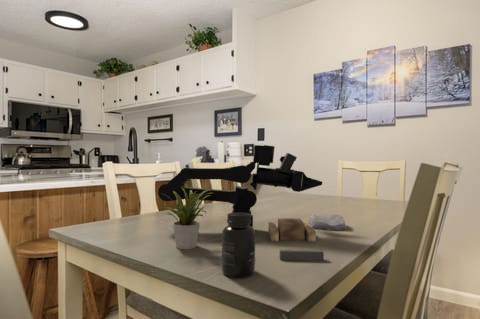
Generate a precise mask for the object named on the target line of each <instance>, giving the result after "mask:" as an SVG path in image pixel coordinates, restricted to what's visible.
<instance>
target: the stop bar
mask: <svg viewBox="0 0 480 319" xmlns="http://www.w3.org/2000/svg"><path fill="white" fill-rule="evenodd" d="M324 253H325V252H324V250H323V249H297V248H296V249H295V248H293V249H290V248H289V249H285V248H282V249H281V248H280V249H279V259H280V261H281V260H282V261H283V260H284V261H324Z"/></svg>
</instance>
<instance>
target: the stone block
mask: <svg viewBox="0 0 480 319" xmlns="http://www.w3.org/2000/svg"><path fill="white" fill-rule="evenodd" d="M308 224H309V225H310V226H311V227H312V228H313V229H319V228H321V230H329V229H331V230H330V231H345V230H346V229H347V228H346V227H347V226H346V222H345V218H344V217H343V216H342V215H340V214H336V213H335V214H327V215H316V214H311V216H309V218H308Z"/></svg>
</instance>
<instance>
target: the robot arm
mask: <svg viewBox="0 0 480 319" xmlns="http://www.w3.org/2000/svg"><path fill="white" fill-rule="evenodd" d="M274 155H275V146H274V145H267V144H266V145H265V144H263V145H259V144H258V145H257V144H254V146H253V157H252V158H253V161H250V162H249V163H248V164H246V165H244V164H243V165H242V164H241V165H236V166H231V167H224V168H217V167H216V168H212V167H211V168H207V167H206V168H203V167H198V168H197V167H183V168H181V169H180V171H179V172H178V173H177V174H176V175H175V176H174V177H172V179H170V180H169V181H168V182H166V183H162V184H161V185H159V188H158V189H157V195H158V197H159V199H160V200H161V201H163V202H174V201H175V202H177V199H176V196H175V194H174V192H173V191H175V192H176V193H177V194H178V195H179V196H180V197H181V199H182V201H183V200H186V198H185V193H184V191H183V189H184V190H185V191H186V194H187V197H188V199H189V193H190V190H192V192H193V193H194V192H195V195H196V197H197V196H198V195H199V194H200V193H201V192H203V191H205V190H209V191H206V192H205V193H203V194H202V195H201V197H202V196H203V197H202V198H201V197H200V198H201V199H200V198H199V199H198V201H199V200H200V201H201V200H202V199H203V198H204V197H205V196H207V197H206V198H205V199H204V200H203V201H206V202H207V201H208V202H220V203H228V204H229V203H230V204H232V211H231V213H234V212H243V213H249V214H251V223H250V226H251V227H252V228H253V227H254V215H253V214H252V210H251V208H253V207H255V205H256V203H257V200H258V199H257V195H256V192H255V191H256V190H257V189H258V188H257V187H258V185H260V186H271V187H274V188H277V187H279V188H286V189H291V191H293V192H298V193H300V192H303V191H307V190H310V189H313V188H315V187H320V186H322V185H323V181H321V180H318V179H315V178H311V177H308V176H307V175H306V174H305V172H304V171H301V170H295V169H292V167H293V165H294V163H295V162H296V161H297V158H298V157H297V156H296V155H293V154H292V153H290V152H286V154H285V155H284V156H280V158H279V161H280V165H279V167H276V168H271V167H270V165H271V164H274ZM261 166H265V167H261ZM268 167H270V168H268ZM255 169H256V172H255V173H253V171H254V170H255ZM251 178H252V181H251V182H250V183H249V185H250V186H251V187H252V188H253V189H251V188H249V187H248V185H247V186H239V185H235V188H234V189H231V190H228V189H227V190H226V189H225V190H224V189H213V188H204V187H201V188H200V187H190V186H186V184H187V183H188V182H189V181H190V180H222V181H224V180H225V181H227V182H228V181H229V182H233V183H239V184H246V183H247V182H248V181H250V180H251ZM181 187H182V188H183V189H182V188H181ZM172 190H173V191H172ZM161 193H162V194H161ZM207 193H209V194H207ZM164 194H165V195H164ZM197 194H198V195H197ZM205 194H206V195H205ZM195 195H194V196H195ZM208 195H211V196H208ZM253 229H254V228H253Z"/></svg>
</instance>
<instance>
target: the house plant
mask: <svg viewBox="0 0 480 319" xmlns="http://www.w3.org/2000/svg"><path fill="white" fill-rule="evenodd" d="M181 188H182V187H181ZM182 189H183V188H182ZM172 191H173V190H172ZM183 191H184V193H185V198H186V199H185V204H184V202H183V200H182V199H181V197H180V196H179V195H178V194H177V193H176V192H175V191H173V192H174V194H175V196H176V199H177V200H176V203H175V206H176V207H175V209H174V208H171V207H168V206H167V207H166V206H165V208H166V209H168V210H169V211H170V212H166V213H164V215H168V216H169V215H170V216H172V217H174V218H175V220H176V221H175V222H172V227H173V234H174V241H175V248H177V249H178V250H179V249H180V250H191V249H195V248H196V247H197V242H198V236H199V229H200V225H201V222H200V221H197V220H196V218H197V217H199V216H200V217H203V218H205V216H204V214H207V211H206V210H204V209H205V208H206V207H207V206H210V204H207V205H203V206H202V207H201V208H199V206H201V205H202V202H203V201H205V200H204V199H205V198H206V197H207V196H205V197H204V198H203V199H202V200H198V199H199V198H200V197H201V195H202V194H203V193H205V192H206V191H209V190H205V191H203V192H201V193H200V194H199V195H198V194H197V195H198V196H197V197H196V195H195V192H194V193H193V192H192V190H190V193H189V199H188V197H187V194H186V191H185V190H184V189H183ZM161 194H162V193H161ZM207 194H209V193H207ZM164 195H165V194H164ZM194 195H195V196H194ZM205 195H206V194H205ZM208 196H211V195H208ZM202 197H203V196H202ZM202 197H201V198H202ZM201 198H200V199H201ZM197 210H198V211H197ZM171 212H172V213H171ZM200 212H203V213H204V214H200ZM173 213H174V214H175V215H176V216H177V217H176V216H175V215H174V214H173ZM178 219H179V220H178Z"/></svg>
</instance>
